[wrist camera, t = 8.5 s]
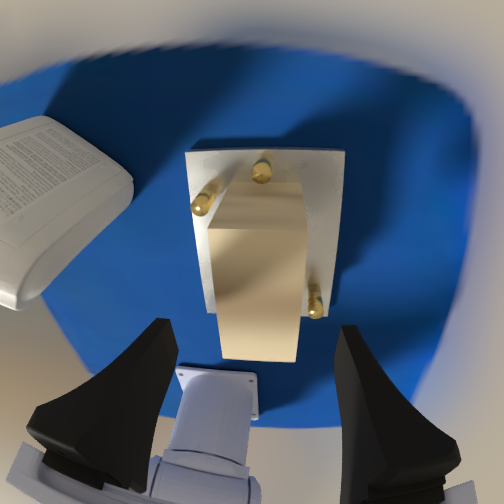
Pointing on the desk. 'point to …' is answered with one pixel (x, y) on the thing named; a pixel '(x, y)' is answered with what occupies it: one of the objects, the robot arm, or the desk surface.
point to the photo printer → (51, 203)
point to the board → (259, 269)
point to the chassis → (274, 170)
